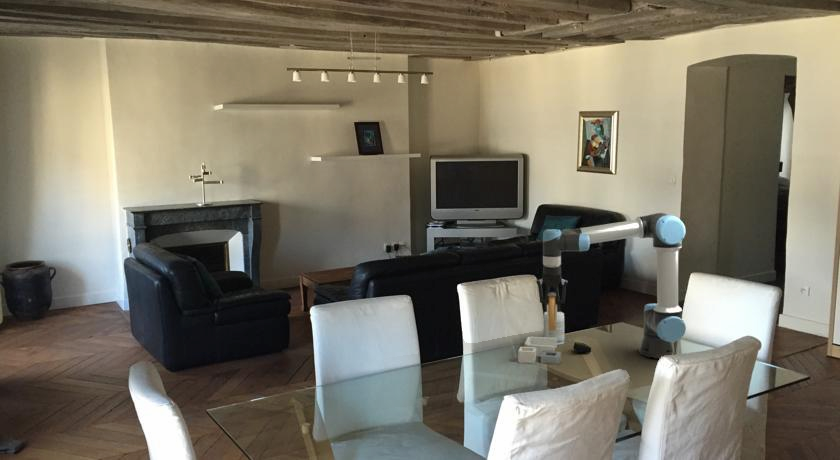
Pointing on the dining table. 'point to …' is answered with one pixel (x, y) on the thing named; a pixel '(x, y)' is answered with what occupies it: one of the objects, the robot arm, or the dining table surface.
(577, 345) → the tape measure
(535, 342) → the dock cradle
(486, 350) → the dining table surface
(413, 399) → the dining table surface
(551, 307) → the lock pin
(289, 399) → the dining table surface
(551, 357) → the pin mount
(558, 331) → the supplement tub
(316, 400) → the dining table surface
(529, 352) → the socket block
